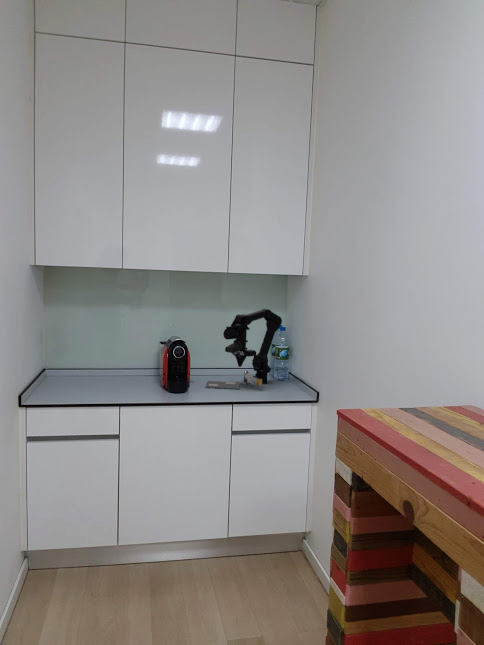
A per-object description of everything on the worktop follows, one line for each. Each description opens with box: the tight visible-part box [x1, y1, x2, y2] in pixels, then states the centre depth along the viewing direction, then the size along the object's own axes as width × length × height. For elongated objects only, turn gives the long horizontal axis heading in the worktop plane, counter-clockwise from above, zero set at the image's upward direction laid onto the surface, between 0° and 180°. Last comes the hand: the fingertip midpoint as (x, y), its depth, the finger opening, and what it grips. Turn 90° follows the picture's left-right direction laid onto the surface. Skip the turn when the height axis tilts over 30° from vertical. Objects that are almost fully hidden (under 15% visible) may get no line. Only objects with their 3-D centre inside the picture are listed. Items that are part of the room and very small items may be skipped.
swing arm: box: [242, 370, 263, 386], centre depth 272 cm, size 19×2×6 cm, turn 26°
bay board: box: [204, 380, 241, 390], centre depth 272 cm, size 18×14×1 cm
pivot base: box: [240, 381, 251, 385], centre depth 279 cm, size 5×5×1 cm
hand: (239, 366), depth 270 cm, fingers closed
